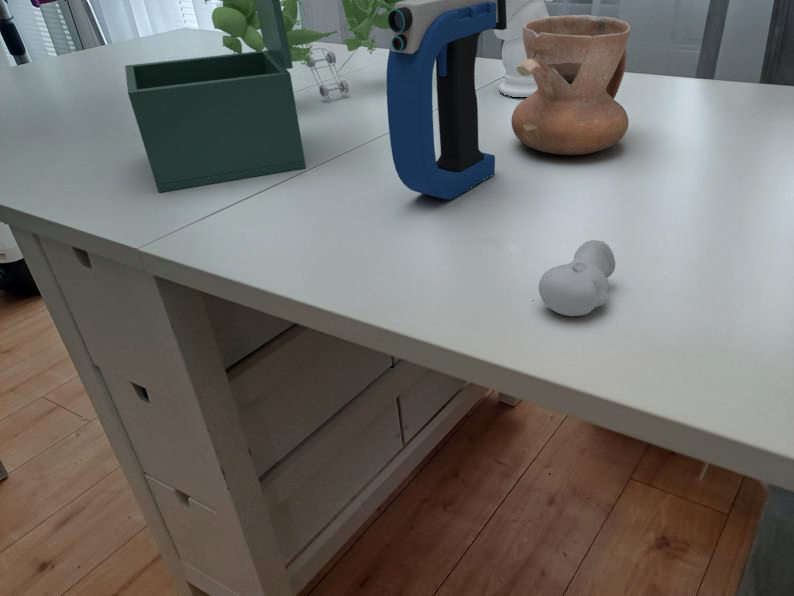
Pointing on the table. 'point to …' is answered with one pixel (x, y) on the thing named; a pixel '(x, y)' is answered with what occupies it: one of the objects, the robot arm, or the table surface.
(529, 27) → the ceramic jug
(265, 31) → the lid
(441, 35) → the handheld scanner
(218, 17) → the plant cuttings
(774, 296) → the table surface
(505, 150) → the table surface
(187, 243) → the table surface
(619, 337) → the table surface
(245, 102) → the dark green hollow box
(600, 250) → the smooth white sculpture
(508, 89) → the cherub figurine
